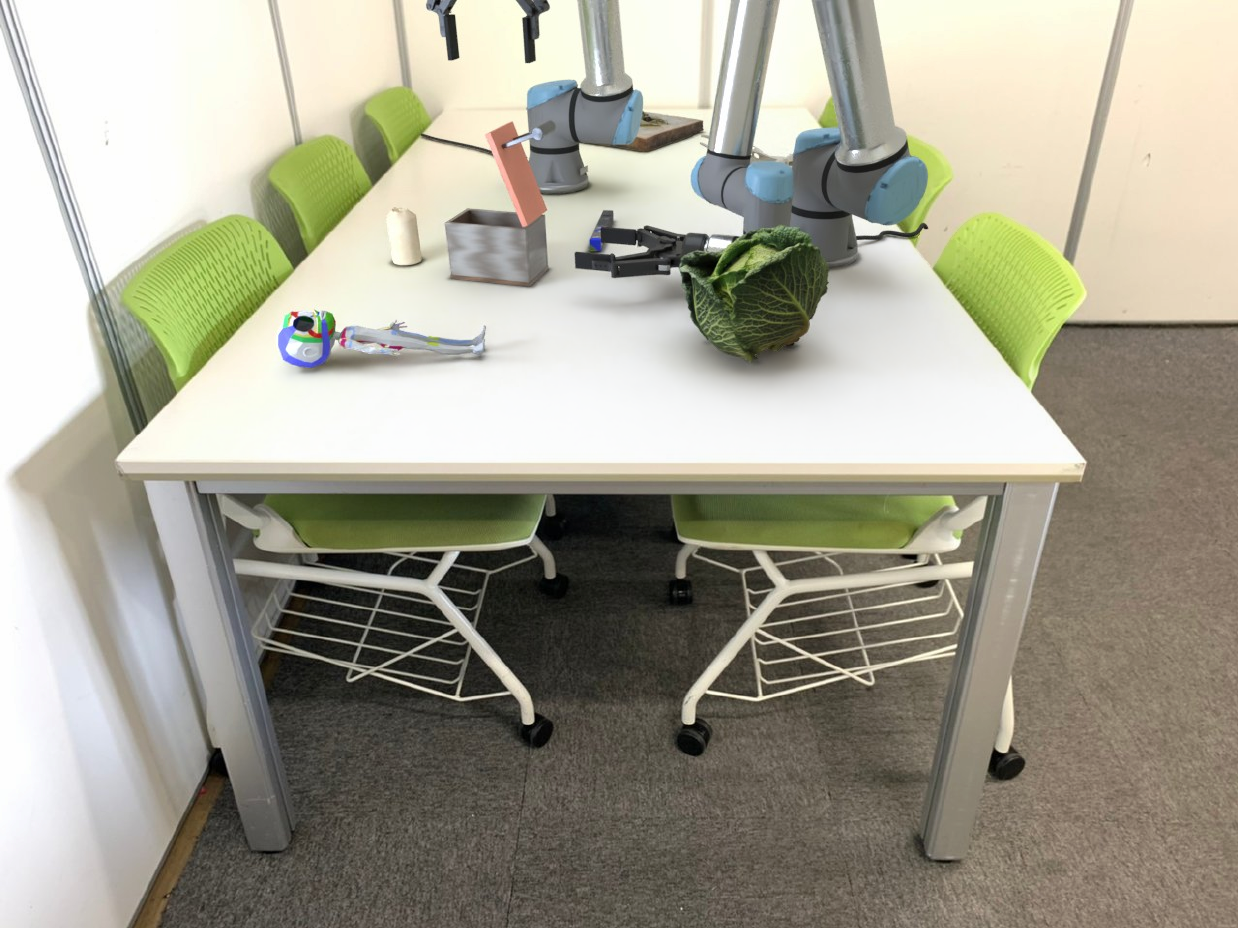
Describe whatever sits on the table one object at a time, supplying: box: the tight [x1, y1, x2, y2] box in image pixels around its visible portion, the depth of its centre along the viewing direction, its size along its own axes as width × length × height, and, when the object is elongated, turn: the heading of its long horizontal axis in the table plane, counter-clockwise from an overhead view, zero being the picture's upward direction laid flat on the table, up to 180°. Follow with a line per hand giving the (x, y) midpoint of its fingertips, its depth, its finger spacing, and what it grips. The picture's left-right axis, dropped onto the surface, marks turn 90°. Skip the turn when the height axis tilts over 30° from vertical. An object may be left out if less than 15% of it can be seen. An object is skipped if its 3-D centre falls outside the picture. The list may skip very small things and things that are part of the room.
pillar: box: [588, 209, 615, 252], centre depth 182 cm, size 2×2×20 cm
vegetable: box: [678, 225, 830, 364], centre depth 132 cm, size 20×19×20 cm
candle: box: [385, 207, 423, 266], centre depth 169 cm, size 6×6×10 cm
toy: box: [276, 309, 487, 369], centre depth 134 cm, size 10×8×30 cm
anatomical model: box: [699, 133, 793, 168], centre depth 218 cm, size 15×9×25 cm
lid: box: [484, 120, 556, 227], centre depth 152 cm, size 16×9×9 cm
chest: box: [444, 207, 549, 288], centre depth 162 cm, size 16×9×10 cm, turn 72°
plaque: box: [591, 110, 705, 152], centre depth 257 cm, size 30×7×30 cm
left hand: (491, 61), depth 145 cm, fingers open, 13 cm apart
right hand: (588, 247), depth 157 cm, fingers open, 13 cm apart
